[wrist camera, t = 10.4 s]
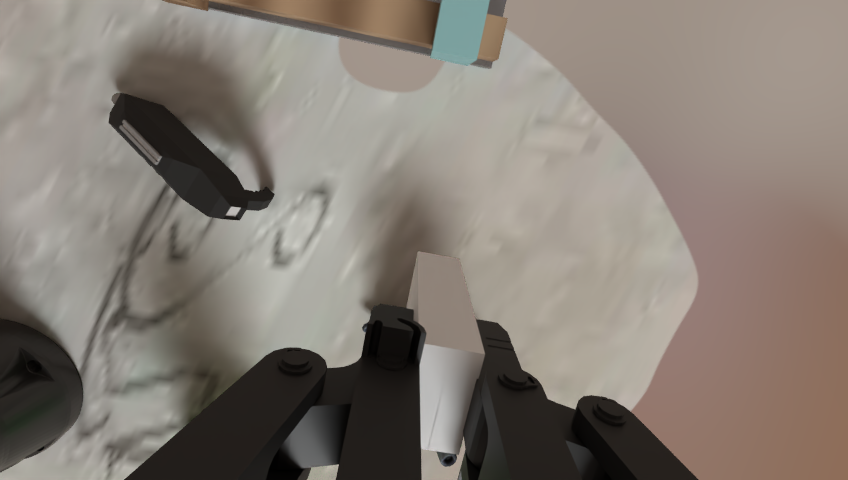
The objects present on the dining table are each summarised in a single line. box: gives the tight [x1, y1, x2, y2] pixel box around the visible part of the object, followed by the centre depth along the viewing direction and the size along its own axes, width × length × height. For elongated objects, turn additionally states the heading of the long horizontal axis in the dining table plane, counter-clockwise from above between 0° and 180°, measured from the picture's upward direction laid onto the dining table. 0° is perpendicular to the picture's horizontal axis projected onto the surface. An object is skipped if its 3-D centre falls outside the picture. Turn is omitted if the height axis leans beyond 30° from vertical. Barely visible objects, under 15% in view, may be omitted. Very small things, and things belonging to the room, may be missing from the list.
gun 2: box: [109, 93, 275, 220], centre depth 41 cm, size 3×16×10 cm, turn 54°
